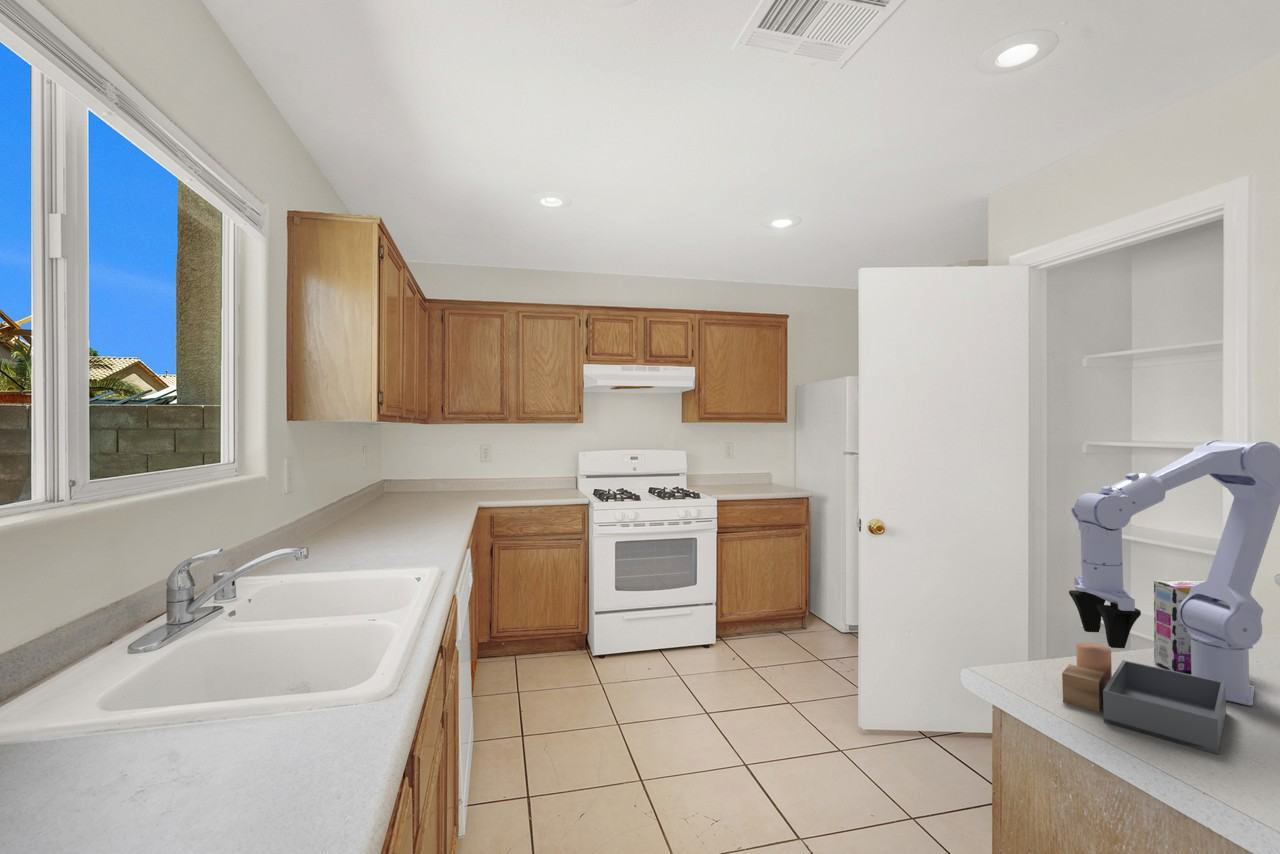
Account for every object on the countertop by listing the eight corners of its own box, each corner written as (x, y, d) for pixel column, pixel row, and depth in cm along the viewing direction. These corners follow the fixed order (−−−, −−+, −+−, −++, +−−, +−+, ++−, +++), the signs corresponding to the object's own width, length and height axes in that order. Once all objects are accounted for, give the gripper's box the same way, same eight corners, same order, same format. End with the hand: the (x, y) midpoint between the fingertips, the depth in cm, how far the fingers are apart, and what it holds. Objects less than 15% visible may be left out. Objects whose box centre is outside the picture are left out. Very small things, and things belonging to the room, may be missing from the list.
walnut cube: (1070, 692, 103) (1069, 664, 103) (1105, 701, 100) (1104, 672, 100) (1062, 701, 100) (1062, 672, 100) (1099, 711, 96) (1098, 681, 96)
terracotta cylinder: (1080, 678, 109) (1079, 640, 109) (1114, 686, 105) (1113, 647, 105) (1074, 686, 105) (1073, 647, 105) (1109, 695, 102) (1108, 655, 102)
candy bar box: (1176, 674, 109) (1173, 587, 109) (1153, 663, 114) (1151, 580, 114) (1237, 673, 109) (1235, 586, 109) (1212, 662, 114) (1210, 579, 114)
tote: (1123, 687, 104) (1122, 660, 104) (1226, 713, 95) (1225, 682, 95) (1103, 722, 93) (1103, 690, 93) (1218, 754, 83) (1217, 719, 83)
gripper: (1055, 552, 110) (1057, 624, 110) (1099, 571, 96) (1101, 653, 96) (1097, 553, 109) (1099, 625, 109) (1148, 572, 95) (1150, 656, 95)
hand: (1103, 639), depth 103 cm, fingers open, 7 cm apart
